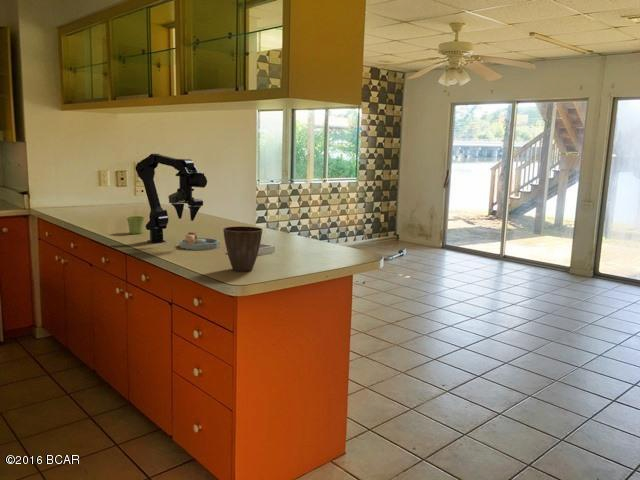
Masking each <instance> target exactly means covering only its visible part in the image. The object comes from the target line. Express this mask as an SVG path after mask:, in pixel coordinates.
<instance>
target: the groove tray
mask: <svg viewBox="0 0 640 480" xmlns="http://www.w3.org/2000/svg"><path fill="white" fill-rule="evenodd" d="M220 242H221V241H220V240H219V239H216V238H212V237H197V239H195V244H190V243H186V238H183V239H181V240H179V248H181V249H183V248H185V249H184V250H190V249H191V251H194V250H195V251H208V250H207V249H209V250H215V249H218V248H220V246H221V244H220Z"/></svg>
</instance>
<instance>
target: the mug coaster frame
mask: <svg viewBox="0 0 640 480" xmlns="http://www.w3.org/2000/svg"><path fill="white" fill-rule="evenodd" d="M275 248H276V246H275V245H272V244H266V243H261V242H260V247H259V251H258V255H257V257H258V256H263V255H270V254H275V250H276V249H275Z"/></svg>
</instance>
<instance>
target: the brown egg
mask: <svg viewBox="0 0 640 480" xmlns="http://www.w3.org/2000/svg"><path fill="white" fill-rule="evenodd" d="M185 239H186V243H190V244H195V235H188V234H186V235H185Z"/></svg>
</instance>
